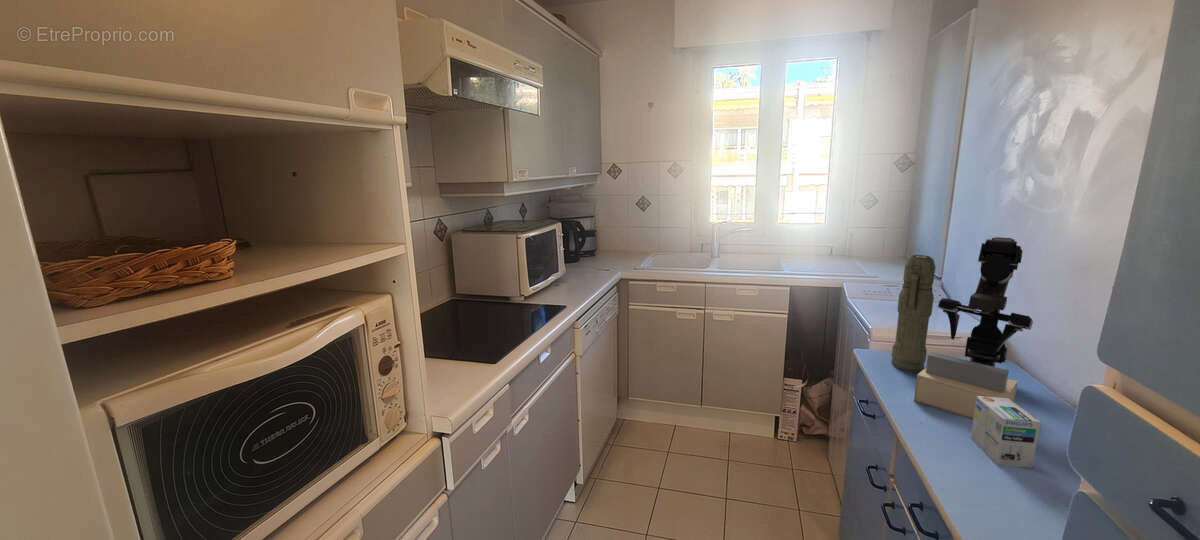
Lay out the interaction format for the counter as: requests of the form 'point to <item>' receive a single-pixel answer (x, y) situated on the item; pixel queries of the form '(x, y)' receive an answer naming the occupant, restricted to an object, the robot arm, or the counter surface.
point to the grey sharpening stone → (966, 375)
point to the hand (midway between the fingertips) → (973, 345)
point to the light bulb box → (1005, 431)
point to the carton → (952, 397)
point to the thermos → (914, 314)
